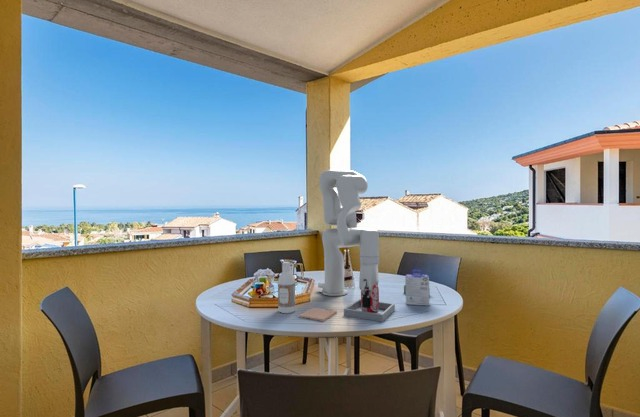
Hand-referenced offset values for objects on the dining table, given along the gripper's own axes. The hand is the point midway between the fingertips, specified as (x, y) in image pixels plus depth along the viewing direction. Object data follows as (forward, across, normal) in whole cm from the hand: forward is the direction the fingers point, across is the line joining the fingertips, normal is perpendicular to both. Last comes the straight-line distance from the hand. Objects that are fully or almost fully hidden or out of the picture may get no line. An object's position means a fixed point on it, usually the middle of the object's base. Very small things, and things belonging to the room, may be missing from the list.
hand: (369, 304), depth 137 cm
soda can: (+4, 0, 0) cm, 4 cm away
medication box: (+4, -36, +10) cm, 38 cm away
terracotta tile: (+3, +12, -17) cm, 21 cm away
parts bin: (+3, 0, 0) cm, 3 cm away
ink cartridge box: (+4, -21, +14) cm, 25 cm away
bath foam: (+4, +13, -31) cm, 34 cm away
